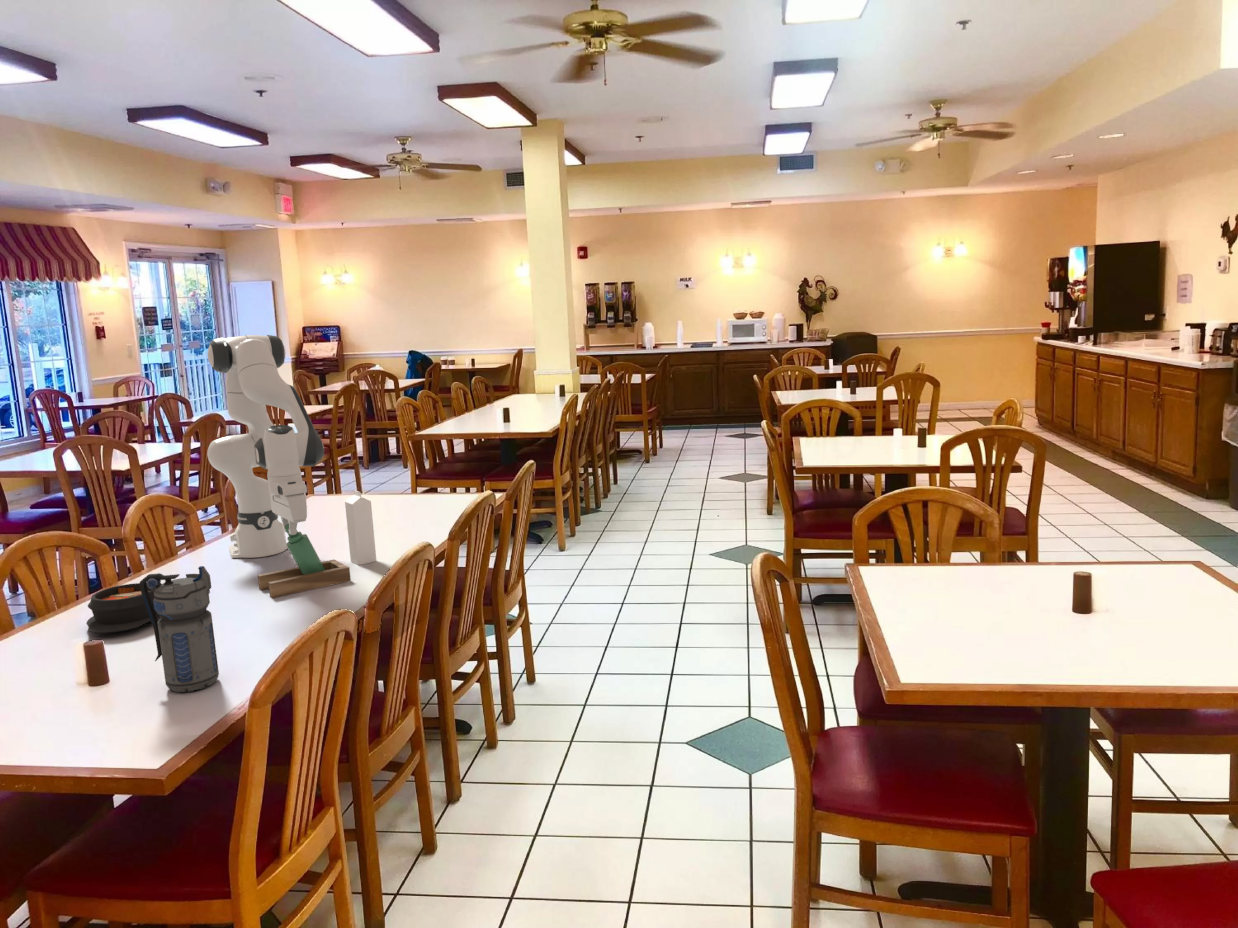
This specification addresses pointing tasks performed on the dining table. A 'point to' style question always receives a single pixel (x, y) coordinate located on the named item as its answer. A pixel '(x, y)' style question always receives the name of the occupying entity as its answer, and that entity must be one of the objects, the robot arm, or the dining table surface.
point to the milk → (360, 529)
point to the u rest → (303, 579)
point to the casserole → (118, 609)
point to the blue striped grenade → (183, 628)
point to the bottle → (303, 553)
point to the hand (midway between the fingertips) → (290, 533)
